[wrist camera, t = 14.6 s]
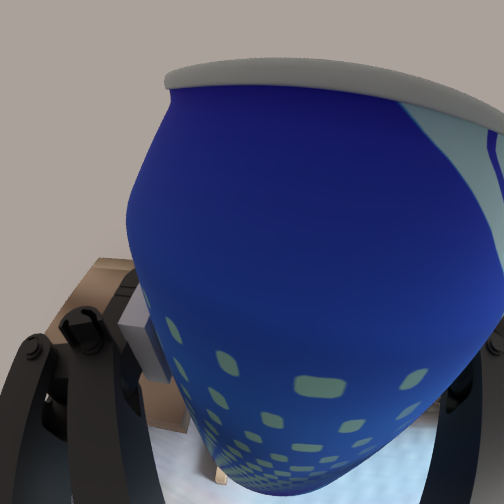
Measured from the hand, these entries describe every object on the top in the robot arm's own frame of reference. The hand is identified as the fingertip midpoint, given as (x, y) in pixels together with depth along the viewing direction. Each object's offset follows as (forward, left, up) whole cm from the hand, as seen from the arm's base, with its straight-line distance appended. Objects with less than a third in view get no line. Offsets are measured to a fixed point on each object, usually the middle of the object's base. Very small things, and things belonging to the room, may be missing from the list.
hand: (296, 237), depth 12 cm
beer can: (-3, +4, -10) cm, 11 cm away
